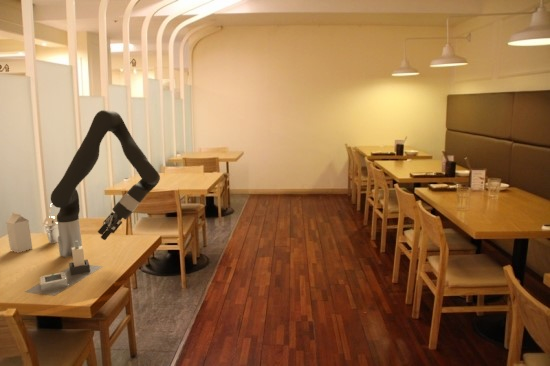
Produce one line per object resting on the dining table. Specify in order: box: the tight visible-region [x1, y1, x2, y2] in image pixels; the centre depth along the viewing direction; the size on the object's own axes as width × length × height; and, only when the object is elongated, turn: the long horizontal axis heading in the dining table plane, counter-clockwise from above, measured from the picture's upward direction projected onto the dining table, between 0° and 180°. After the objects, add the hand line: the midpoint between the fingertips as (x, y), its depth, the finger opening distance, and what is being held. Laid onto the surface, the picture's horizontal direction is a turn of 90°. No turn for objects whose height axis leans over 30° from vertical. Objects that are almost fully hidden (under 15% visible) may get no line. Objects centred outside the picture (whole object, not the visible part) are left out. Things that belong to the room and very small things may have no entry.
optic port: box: [39, 271, 69, 292], centre depth 165 cm, size 9×9×3 cm
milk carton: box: [5, 212, 33, 254], centre depth 209 cm, size 7×7×19 cm
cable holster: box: [68, 259, 90, 275], centre depth 179 cm, size 7×7×3 cm
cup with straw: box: [42, 202, 59, 244], centre depth 220 cm, size 8×9×20 cm
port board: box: [24, 264, 104, 296], centre depth 172 cm, size 14×28×2 cm, turn 165°
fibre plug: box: [72, 241, 85, 267], centre depth 178 cm, size 4×4×13 cm
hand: (101, 236), depth 181 cm, fingers open, 8 cm apart
